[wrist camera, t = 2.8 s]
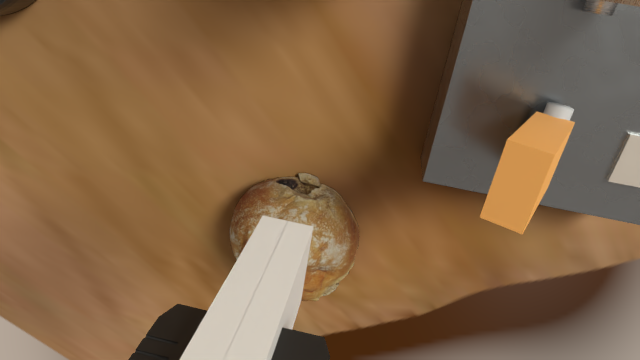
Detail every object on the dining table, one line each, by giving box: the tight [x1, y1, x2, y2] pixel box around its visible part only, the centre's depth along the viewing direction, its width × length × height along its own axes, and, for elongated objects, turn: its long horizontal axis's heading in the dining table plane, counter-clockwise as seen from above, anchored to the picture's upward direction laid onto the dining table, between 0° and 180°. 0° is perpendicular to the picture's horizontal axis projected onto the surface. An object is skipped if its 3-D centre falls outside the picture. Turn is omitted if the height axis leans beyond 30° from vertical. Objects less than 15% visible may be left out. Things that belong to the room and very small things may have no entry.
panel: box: [421, 0, 640, 225], centre depth 23 cm, size 14×18×12 cm
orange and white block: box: [480, 102, 575, 234], centre depth 23 cm, size 2×5×8 cm, turn 171°
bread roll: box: [230, 173, 359, 301], centre depth 35 cm, size 10×10×8 cm
